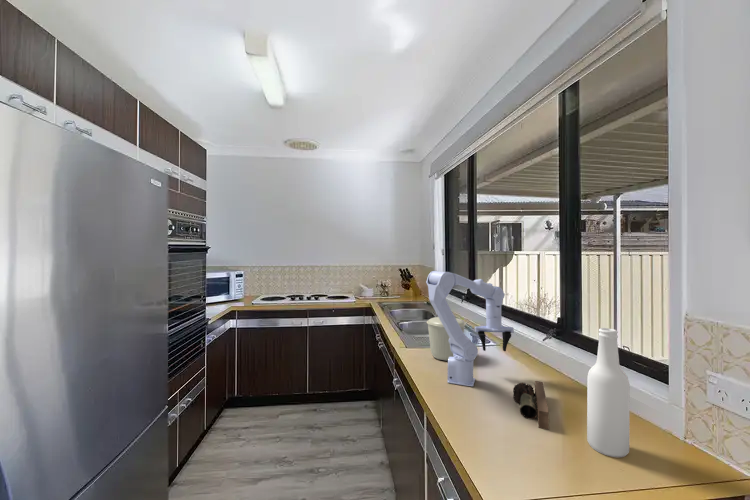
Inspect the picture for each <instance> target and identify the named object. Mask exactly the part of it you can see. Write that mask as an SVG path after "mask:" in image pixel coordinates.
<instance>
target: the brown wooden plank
mask: <svg viewBox="0 0 750 500" xmlns="http://www.w3.org/2000/svg"><path fill="white" fill-rule="evenodd" d="M534 393H535V397H534V399H535V404H536V409H537V413H538V415H537V417H536V418H537V423H538V429H544V430H549V429H550V423H549V422H550V421H549V420H550V417H549V415H550V414H549V412H550V411H549V407H548V401H547V397H546V391H545V386H544V382H543V381H538V380H534Z"/></svg>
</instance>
